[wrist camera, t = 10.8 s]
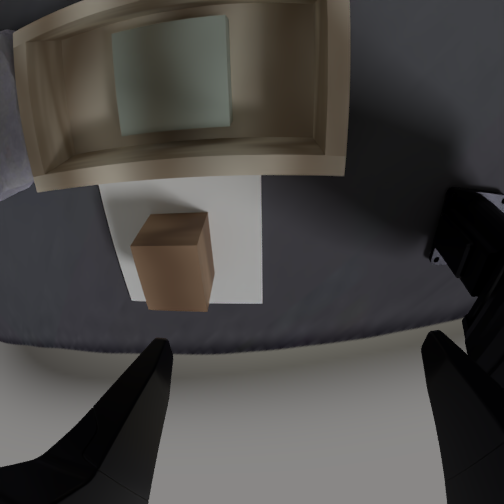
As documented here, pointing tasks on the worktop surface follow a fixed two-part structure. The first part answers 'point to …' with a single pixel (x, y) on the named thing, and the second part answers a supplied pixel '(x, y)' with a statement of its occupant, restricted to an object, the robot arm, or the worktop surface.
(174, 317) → the worktop surface
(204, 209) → the grey mat
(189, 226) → the walnut block
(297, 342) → the worktop surface
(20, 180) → the stone block
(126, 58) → the slot box
